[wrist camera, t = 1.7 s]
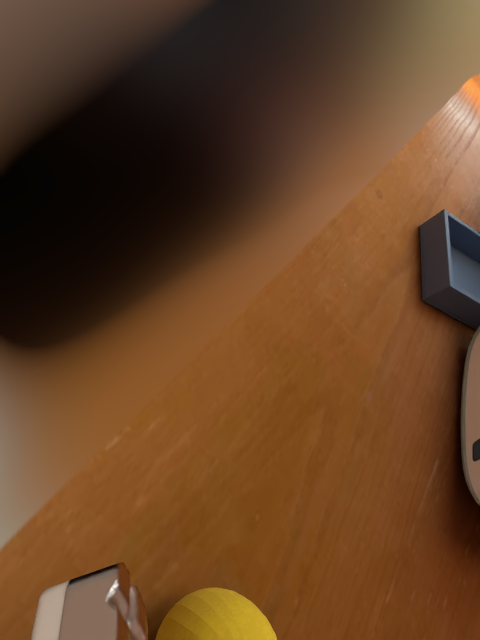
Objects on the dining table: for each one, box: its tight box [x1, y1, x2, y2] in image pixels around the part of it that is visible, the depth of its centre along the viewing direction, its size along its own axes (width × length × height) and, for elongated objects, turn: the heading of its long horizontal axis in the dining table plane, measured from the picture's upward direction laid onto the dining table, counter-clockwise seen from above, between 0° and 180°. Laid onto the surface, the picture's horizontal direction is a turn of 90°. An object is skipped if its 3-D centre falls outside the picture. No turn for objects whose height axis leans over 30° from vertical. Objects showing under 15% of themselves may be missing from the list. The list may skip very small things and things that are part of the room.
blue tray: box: [420, 209, 480, 330], centre depth 49 cm, size 13×11×4 cm
